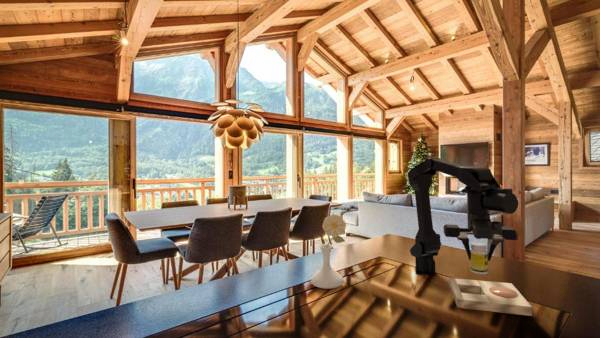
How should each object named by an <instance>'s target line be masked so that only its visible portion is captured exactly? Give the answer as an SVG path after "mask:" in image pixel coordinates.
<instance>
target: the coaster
mask: <svg viewBox="0 0 600 338" xmlns="http://www.w3.org/2000/svg"><path fill="white" fill-rule="evenodd" d="M489 291H490V292H491V293H493V294H495V295H497V296H501V297H506V298H514V297H517V296H518V294H517V292H515V291H514V290H512V289H509V288H505V287H490V288H489Z"/></svg>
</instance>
